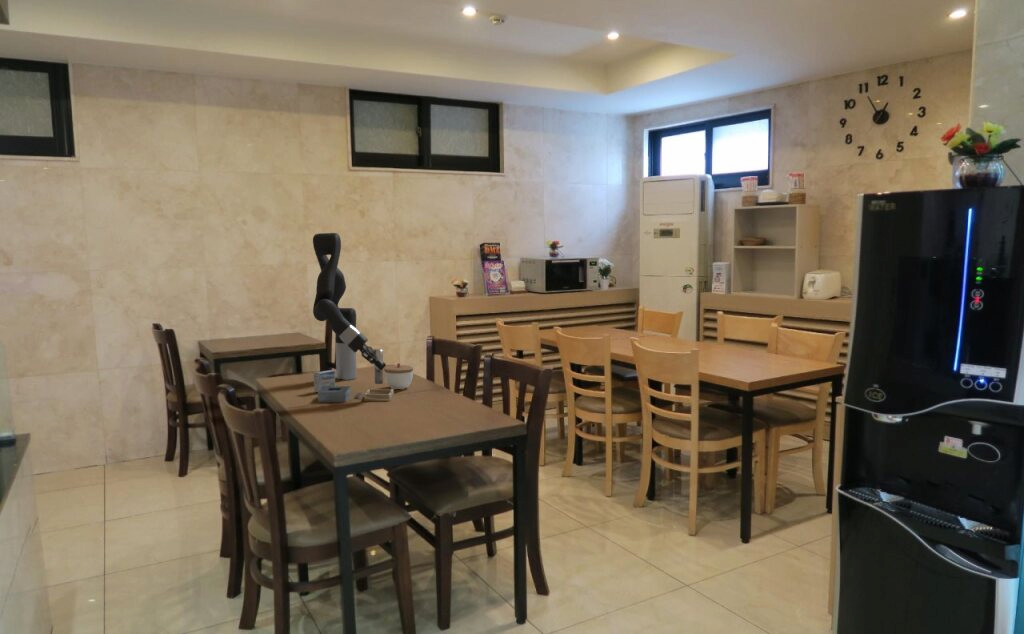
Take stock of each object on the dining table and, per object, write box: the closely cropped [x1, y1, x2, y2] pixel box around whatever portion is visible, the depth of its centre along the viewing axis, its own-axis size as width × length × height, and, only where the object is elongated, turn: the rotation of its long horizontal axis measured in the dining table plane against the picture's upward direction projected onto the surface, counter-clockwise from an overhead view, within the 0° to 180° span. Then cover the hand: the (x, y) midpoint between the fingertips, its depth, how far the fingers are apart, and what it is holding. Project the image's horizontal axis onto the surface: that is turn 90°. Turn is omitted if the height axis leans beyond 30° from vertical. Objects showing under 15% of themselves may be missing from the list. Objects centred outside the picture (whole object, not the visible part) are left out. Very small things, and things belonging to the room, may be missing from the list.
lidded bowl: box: [383, 362, 414, 390], centre depth 297 cm, size 13×13×11 cm
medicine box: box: [313, 369, 336, 393], centre depth 290 cm, size 8×4×9 cm, turn 143°
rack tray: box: [363, 388, 395, 402], centre depth 278 cm, size 10×10×2 cm
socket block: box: [317, 385, 352, 403], centre depth 276 cm, size 11×11×4 cm
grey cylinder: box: [373, 348, 384, 385], centre depth 277 cm, size 4×4×14 cm
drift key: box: [354, 392, 363, 399], centre depth 281 cm, size 7×2×1 cm, turn 3°
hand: (383, 367), depth 277 cm, fingers closed on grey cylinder, 3 cm apart
